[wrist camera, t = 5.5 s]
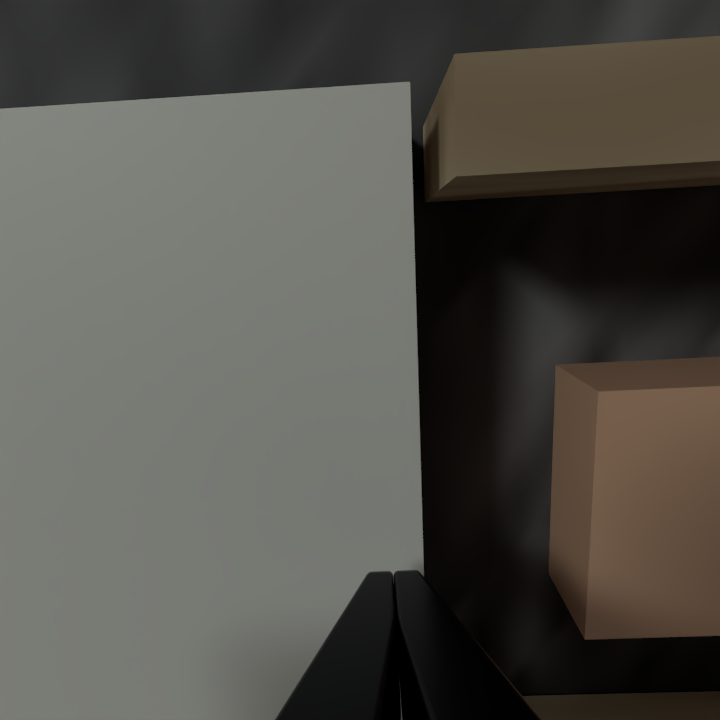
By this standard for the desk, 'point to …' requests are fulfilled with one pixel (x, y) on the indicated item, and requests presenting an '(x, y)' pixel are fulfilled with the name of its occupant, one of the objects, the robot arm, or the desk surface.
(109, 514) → the plate
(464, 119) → the box
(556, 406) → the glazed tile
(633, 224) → the desk surface
